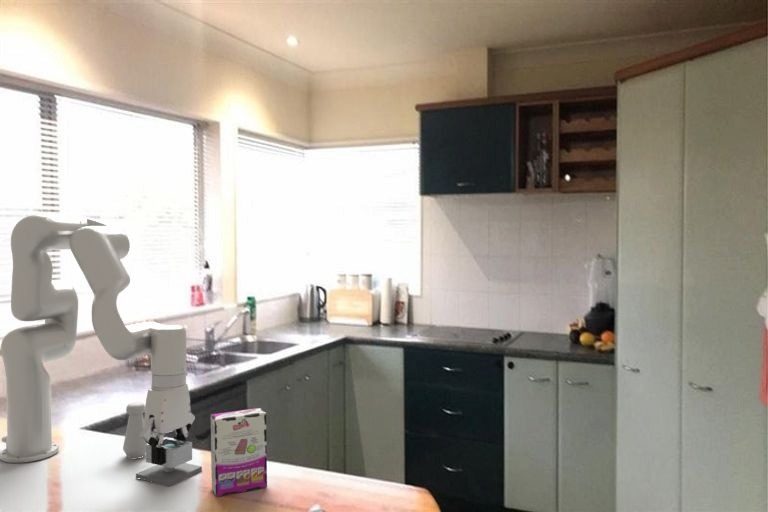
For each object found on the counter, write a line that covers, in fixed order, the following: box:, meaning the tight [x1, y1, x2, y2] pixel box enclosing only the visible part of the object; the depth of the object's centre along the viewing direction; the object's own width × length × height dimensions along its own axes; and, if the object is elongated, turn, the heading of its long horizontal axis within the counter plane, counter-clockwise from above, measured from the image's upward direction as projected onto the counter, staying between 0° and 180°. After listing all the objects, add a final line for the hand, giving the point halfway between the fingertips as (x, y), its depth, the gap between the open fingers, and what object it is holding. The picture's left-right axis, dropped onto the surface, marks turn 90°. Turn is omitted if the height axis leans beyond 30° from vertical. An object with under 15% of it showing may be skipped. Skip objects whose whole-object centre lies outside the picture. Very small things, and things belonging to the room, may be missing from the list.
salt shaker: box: [122, 401, 148, 459], centre depth 153 cm, size 6×6×13 cm
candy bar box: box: [210, 407, 268, 497], centre depth 134 cm, size 11×5×16 cm, turn 118°
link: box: [145, 436, 193, 468], centre depth 141 cm, size 8×6×4 cm
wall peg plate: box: [135, 444, 203, 487], centre depth 141 cm, size 10×10×7 cm
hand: (169, 458), depth 141 cm, fingers closed on link, 6 cm apart
